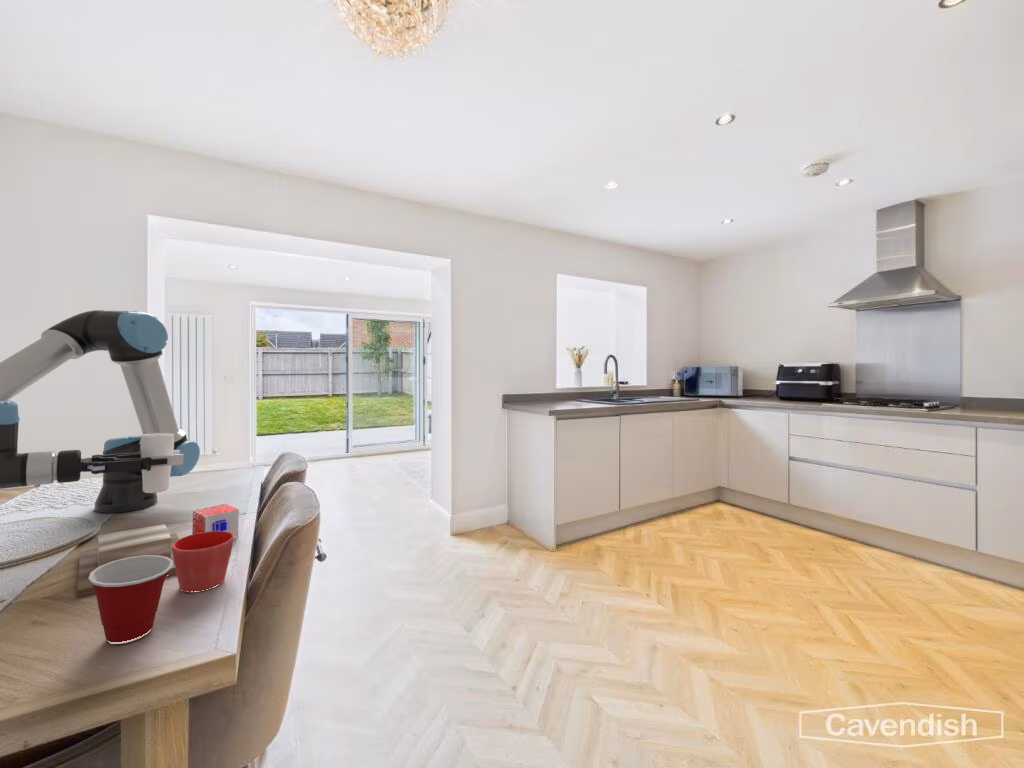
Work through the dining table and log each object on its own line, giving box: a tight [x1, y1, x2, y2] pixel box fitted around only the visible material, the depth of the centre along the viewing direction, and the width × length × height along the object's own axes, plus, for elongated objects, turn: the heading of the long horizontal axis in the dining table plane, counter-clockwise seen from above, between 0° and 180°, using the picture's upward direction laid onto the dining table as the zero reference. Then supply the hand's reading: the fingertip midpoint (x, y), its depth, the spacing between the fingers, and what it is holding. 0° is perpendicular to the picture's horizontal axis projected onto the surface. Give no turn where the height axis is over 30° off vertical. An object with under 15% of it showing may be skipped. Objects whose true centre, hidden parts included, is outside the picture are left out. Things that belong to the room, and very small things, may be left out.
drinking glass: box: [140, 433, 174, 493], centre depth 110 cm, size 7×7×15 cm
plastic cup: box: [89, 555, 173, 642], centre depth 72 cm, size 11×11×12 cm
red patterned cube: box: [191, 503, 240, 539], centre depth 113 cm, size 8×8×8 cm
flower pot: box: [172, 531, 235, 592], centre depth 89 cm, size 11×11×10 cm
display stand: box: [76, 523, 180, 599], centre depth 97 cm, size 24×18×6 cm
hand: (181, 457), depth 113 cm, fingers closed on drinking glass, 6 cm apart
